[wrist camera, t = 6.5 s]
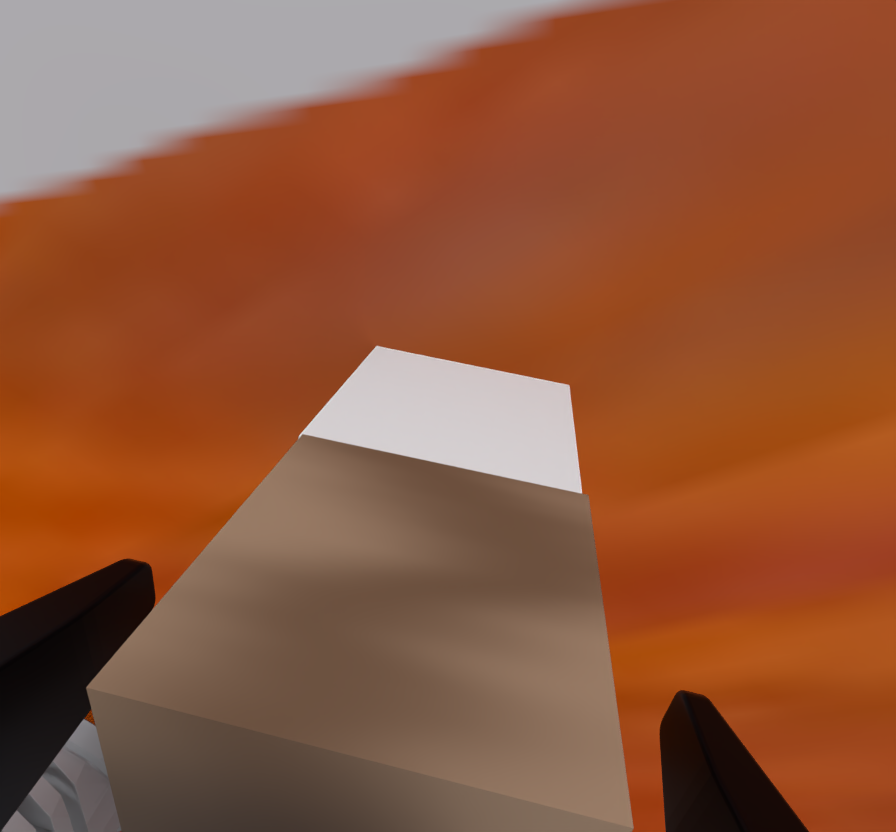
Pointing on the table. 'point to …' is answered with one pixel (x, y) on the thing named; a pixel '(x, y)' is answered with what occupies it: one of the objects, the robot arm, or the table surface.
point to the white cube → (456, 417)
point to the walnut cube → (374, 662)
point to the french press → (71, 791)
